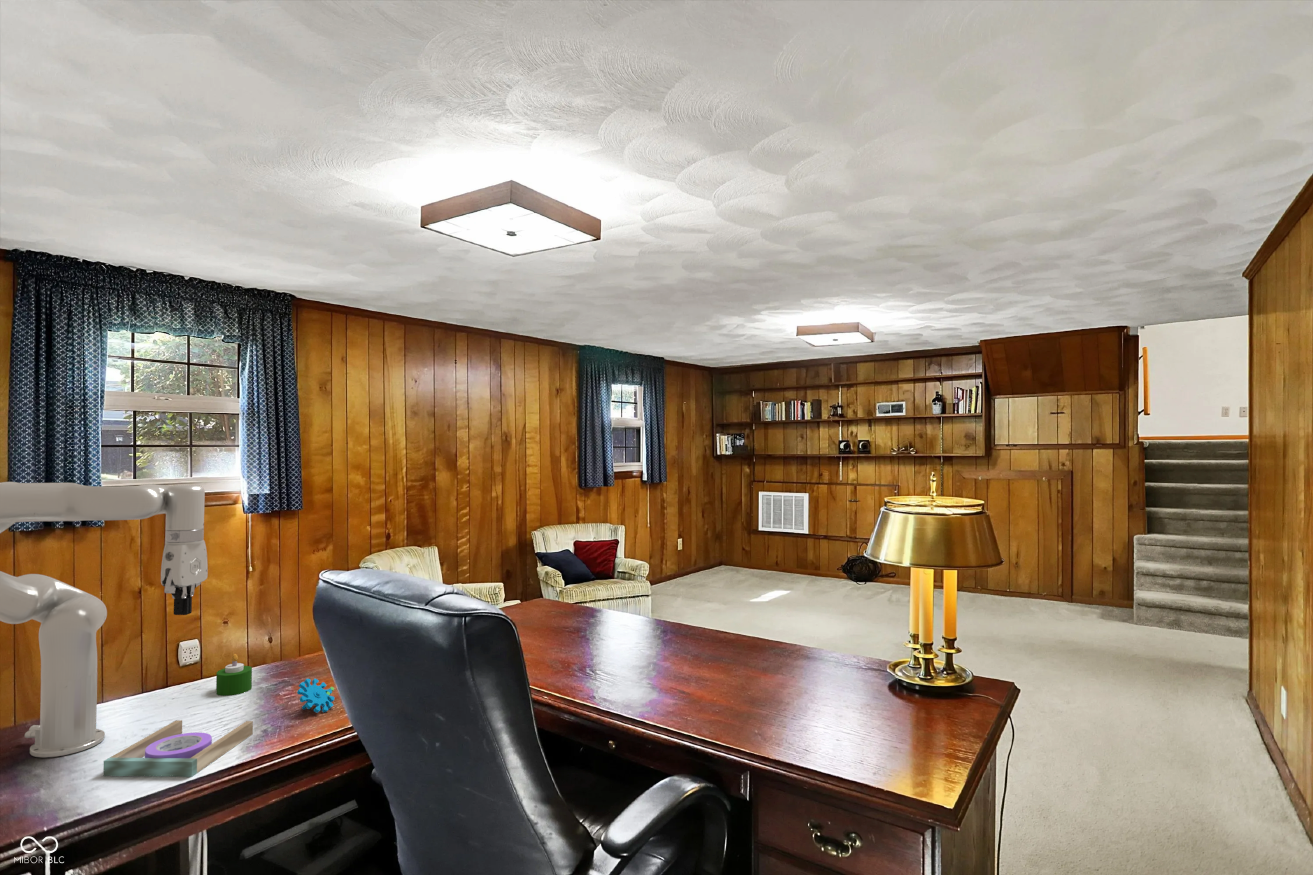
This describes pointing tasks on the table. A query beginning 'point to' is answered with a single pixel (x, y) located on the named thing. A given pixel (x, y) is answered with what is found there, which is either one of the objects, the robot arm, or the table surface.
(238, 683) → the candle
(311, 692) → the gear
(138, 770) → the bay
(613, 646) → the table surface
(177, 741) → the masking tape
